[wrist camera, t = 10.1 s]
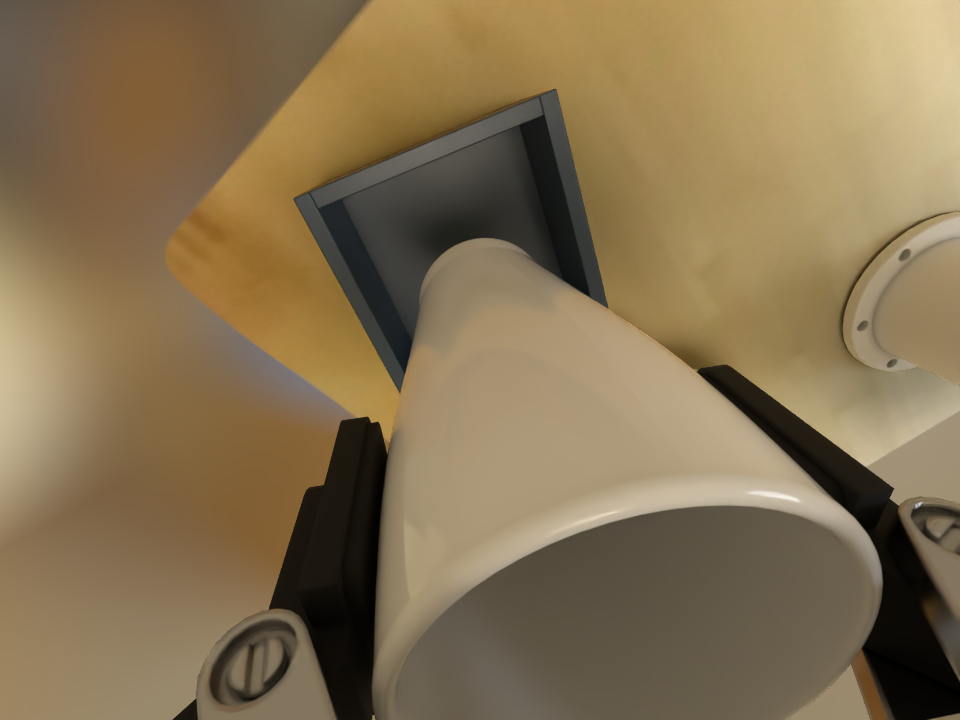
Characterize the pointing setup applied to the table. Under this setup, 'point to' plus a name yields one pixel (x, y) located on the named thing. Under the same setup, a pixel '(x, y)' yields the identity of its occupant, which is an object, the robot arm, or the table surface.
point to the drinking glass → (594, 524)
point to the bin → (452, 215)
